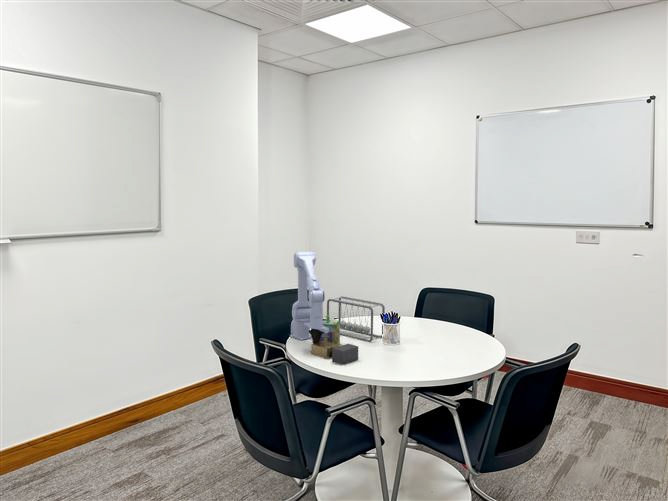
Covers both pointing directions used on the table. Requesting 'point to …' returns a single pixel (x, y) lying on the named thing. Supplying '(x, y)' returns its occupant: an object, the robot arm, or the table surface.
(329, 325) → the green multicoloured upright block
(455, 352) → the table surface
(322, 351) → the brown open box
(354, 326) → the newton's cradle
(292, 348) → the table surface
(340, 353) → the dark grey rectangular block
